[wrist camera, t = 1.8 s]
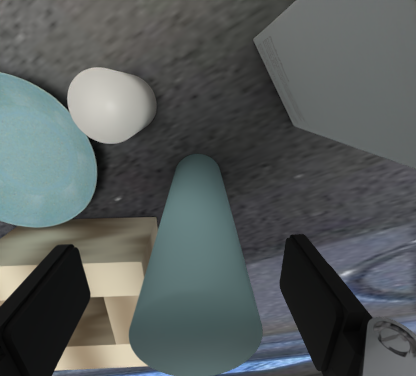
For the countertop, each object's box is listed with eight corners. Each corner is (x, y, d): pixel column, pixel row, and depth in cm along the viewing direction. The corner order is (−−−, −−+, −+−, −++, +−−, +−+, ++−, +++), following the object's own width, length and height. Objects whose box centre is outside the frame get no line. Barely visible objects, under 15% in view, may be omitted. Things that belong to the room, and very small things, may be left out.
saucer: (135, 179, 20) (127, 190, 18) (32, 234, 22) (14, 249, 19) (35, 39, 15) (9, 30, 13) (-83, 121, 17) (-123, 126, 15)
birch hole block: (156, 217, 21) (141, 261, 16) (166, 306, 26) (157, 365, 20) (25, 220, 21) (-38, 267, 15) (60, 311, 25) (22, 372, 20)
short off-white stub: (153, 73, 16) (136, 67, 12) (159, 129, 18) (145, 143, 13) (98, 74, 16) (58, 67, 12) (108, 130, 18) (77, 144, 13)
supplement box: (292, 129, 18) (454, 196, 7) (250, 38, 16) (395, -111, 4) (381, 75, 17) (777, 42, 5) (351, -35, 14) (1003, -565, 3)
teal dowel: (221, 153, 19) (268, 287, 6) (220, 196, 20) (256, 374, 8) (173, 154, 19) (118, 292, 6) (176, 197, 20) (138, 380, 7)
